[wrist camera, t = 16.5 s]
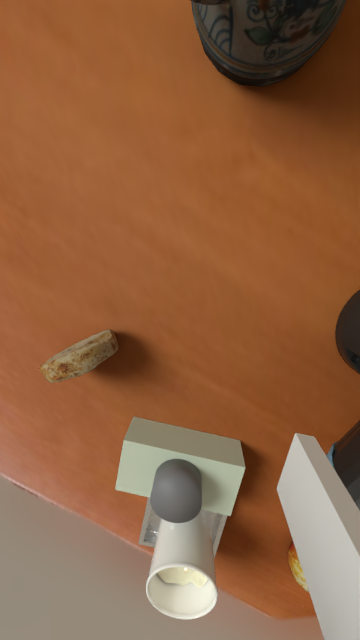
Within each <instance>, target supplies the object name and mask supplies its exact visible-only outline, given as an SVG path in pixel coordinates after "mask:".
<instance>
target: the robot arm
mask: <svg viewBox="0 0 360 640" xmlns="http://www.w3.org/2000/svg"><path fill="white" fill-rule="evenodd" d="M335 334H336V344H337V348H338V351H339V353H340V355H341V357H342V358H343V360H344V361H345V362H346V363H347V364H348V365H349V366H350V367H351V368H352V369H354V370H355V371H356V372H357V373H359V374H360V290H359V291H358V292H357V293H355V294H354V295H353V296H352V297H351V298H350V300H349V301H348V302H347V303H346V305H345V306H344V308H343V309H342V311H341V313H340V315H339V318H338V321H337V325H336V333H335ZM277 491H278V495H279V498H280V501H281V504H282V507H283V510H284V514H285V517H286V520H287V523H288V526H289V529H290V532H291V536H292V539H293V542H294V545H295V548H296V551H297V555H298V558H299V561H300V564H301V567H302V570H303V573H304V577H305V580H306V583H307V586H308V589H309V592H310V596H311V599H312V602H313V605H314V608H315V611H316V614H317V618H318V621H319V624H320V627H321V630H322V633H323V637H324V640H360V420H359V421H358V422H357V423H356V424H355V425H354V427H353V428H352V429H351V430H350V431H349V432H348V433H347V434H345V435H344V436H343V437H342V438H341V439H340V440H339V441H337V442H335V443H334V444H333V445H332V446H331V448H330V451H329V452H328V454H327V455H325V453H324V452H323V450H322V448H321V447H320V445H319V443H318V442H317V440H316V439H315V437H313V436H308V435H303V434H299V433H295V435H294V438H293V441H292V444H291V447H290V450H289V453H288V456H287V459H286V462H285V465H284V468H283V471H282V474H281V477H280V480H279V483H278V486H277Z"/></svg>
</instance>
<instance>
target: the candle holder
mask: <svg viewBox="0 0 360 640" xmlns="http://www.w3.org/2000/svg"><path fill="white" fill-rule="evenodd" d="M146 593H147V597H148V599H149V601H150V602H151V604H152V605H153V606H154V607H155V608H156V609H157V610H159V611H160V612H161V613H163V614H165V615H167V616H170V617H173V618H177V619H195V618H199V617H201V616H204V615H206V614H207V613H208V612H210V611H211V610H212V609H213V608H214V606H215V604H216V602H217V598H218V590H217V585H216V574H215V564H214V553H213V542H212V531H211V521H210V514H209V511H206V510H200V512H199V514H198V515H197V516H196V517H195V518H194V519H192V520H190V521H188V522H184V523H172V522H168V521H165V520H163V519H162V518H161V521H160V526H159V530H158V535H157V540H156V544H155V549H154V554H153V558H152V563H151V567H150V572H149V576H148V580H147V583H146Z"/></svg>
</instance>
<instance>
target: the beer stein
mask: <svg viewBox="0 0 360 640" xmlns="http://www.w3.org/2000/svg"><path fill="white" fill-rule="evenodd" d="M191 1H192V11H193V16H194V20H195V24H196V27H197V31H198V33H199V36H200V39H201V42H202V45H203V48H204V51H205V54H206V55H207V56H208V58H209V59H210V60H211V62H212V63H213V65H214V66H215V67H216V69H217V70H218V71H219V72H220V73H222V74H223V75H225V76H227V77H228V78H230V79H232V80H233V81H235V82H236V83H238V84H242V85H252V86H263V87H264V86H267V85H270V84H273V83H276V82H279V81H282V80H284V79H286V78H287V77H289V76H290V75H292V74H293V73H295V72H296V71H297V70H298V69H299V68H300V67H301V66H302V65H303V64H304V63H305V62H306V61H307V60H308V59H309V58H310V57H311V56H312V55H314V54H315V53H316V52H317V51H318V50H319V48H320V47H321V46H322V45H323V43H324V42H325V41H326V40H327V38H328V37H329V35H330V34H331V32H332V30H333V29H334V27H335V25H336V23H337V22H338V20H339V17H340V15H341V13H342V11H343V8H344V6H345V4H346V1H347V0H191Z"/></svg>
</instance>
